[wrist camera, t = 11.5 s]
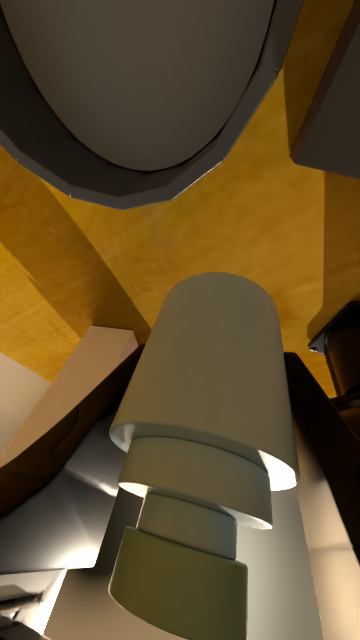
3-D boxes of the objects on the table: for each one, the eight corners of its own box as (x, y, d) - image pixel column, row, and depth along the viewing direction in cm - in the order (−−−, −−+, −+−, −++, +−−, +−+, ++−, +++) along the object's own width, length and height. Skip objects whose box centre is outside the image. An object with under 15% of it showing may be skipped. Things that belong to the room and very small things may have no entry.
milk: (105, 352, 32) (-20, 575, 17) (90, 324, 28) (-94, 587, 13) (144, 358, 31) (45, 603, 16) (134, 329, 27) (-13, 627, 12)
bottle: (249, 364, 12) (250, 613, 6) (158, 339, 13) (75, 556, 7) (304, 292, 8) (439, 764, 2) (170, 256, 9) (-10, 610, 3)
